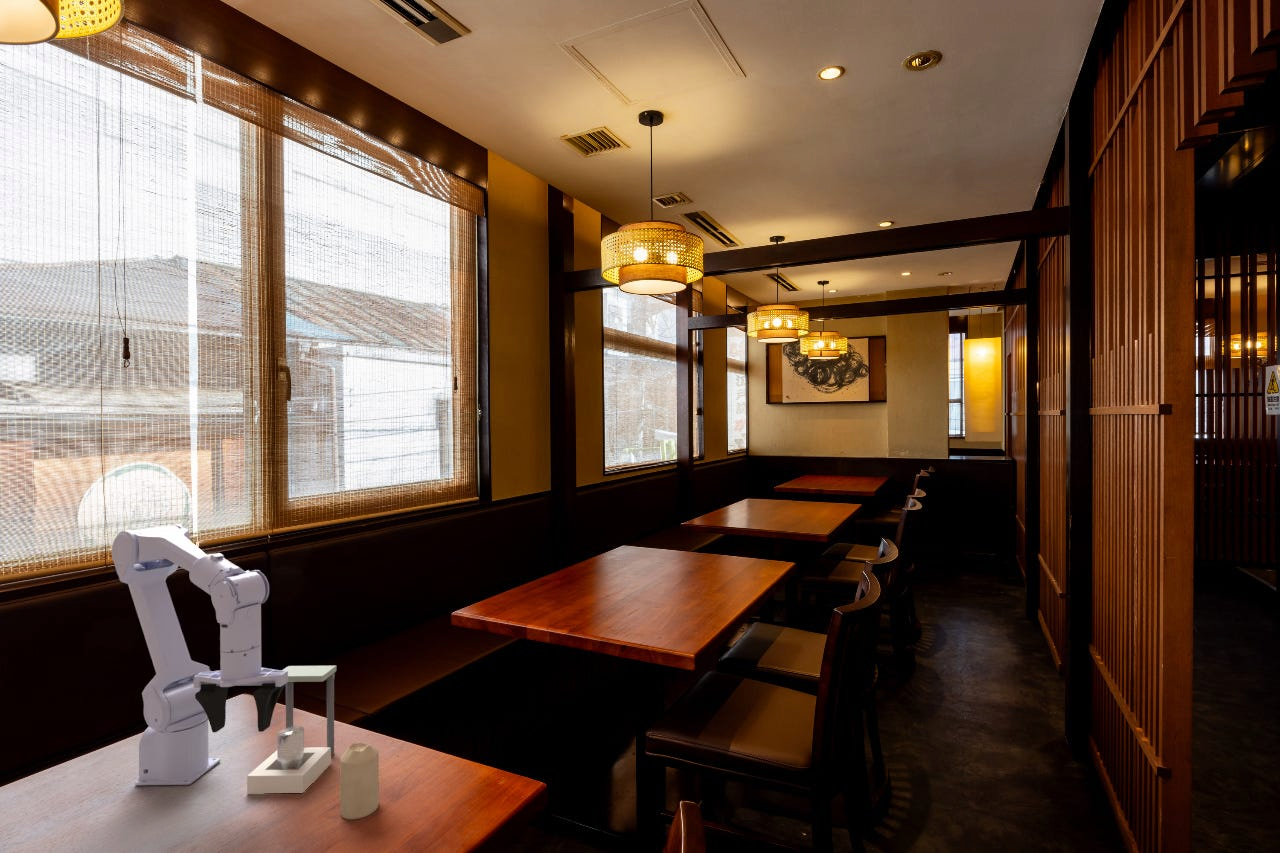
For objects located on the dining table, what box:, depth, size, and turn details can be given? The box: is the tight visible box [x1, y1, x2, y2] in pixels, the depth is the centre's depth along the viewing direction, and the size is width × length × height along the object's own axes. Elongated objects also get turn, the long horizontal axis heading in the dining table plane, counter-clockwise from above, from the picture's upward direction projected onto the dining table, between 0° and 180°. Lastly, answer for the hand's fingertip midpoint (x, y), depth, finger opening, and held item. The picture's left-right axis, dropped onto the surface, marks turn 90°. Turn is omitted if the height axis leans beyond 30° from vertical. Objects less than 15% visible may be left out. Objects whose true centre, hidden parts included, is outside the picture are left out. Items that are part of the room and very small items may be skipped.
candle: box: [339, 742, 380, 820], centre depth 98 cm, size 6×6×10 cm
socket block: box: [246, 746, 332, 795], centre depth 107 cm, size 9×9×3 cm
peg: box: [276, 725, 305, 770], centre depth 107 cm, size 4×4×8 cm
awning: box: [281, 665, 337, 756], centre depth 113 cm, size 9×5×16 cm, turn 90°
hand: (241, 729), depth 103 cm, fingers open, 7 cm apart
